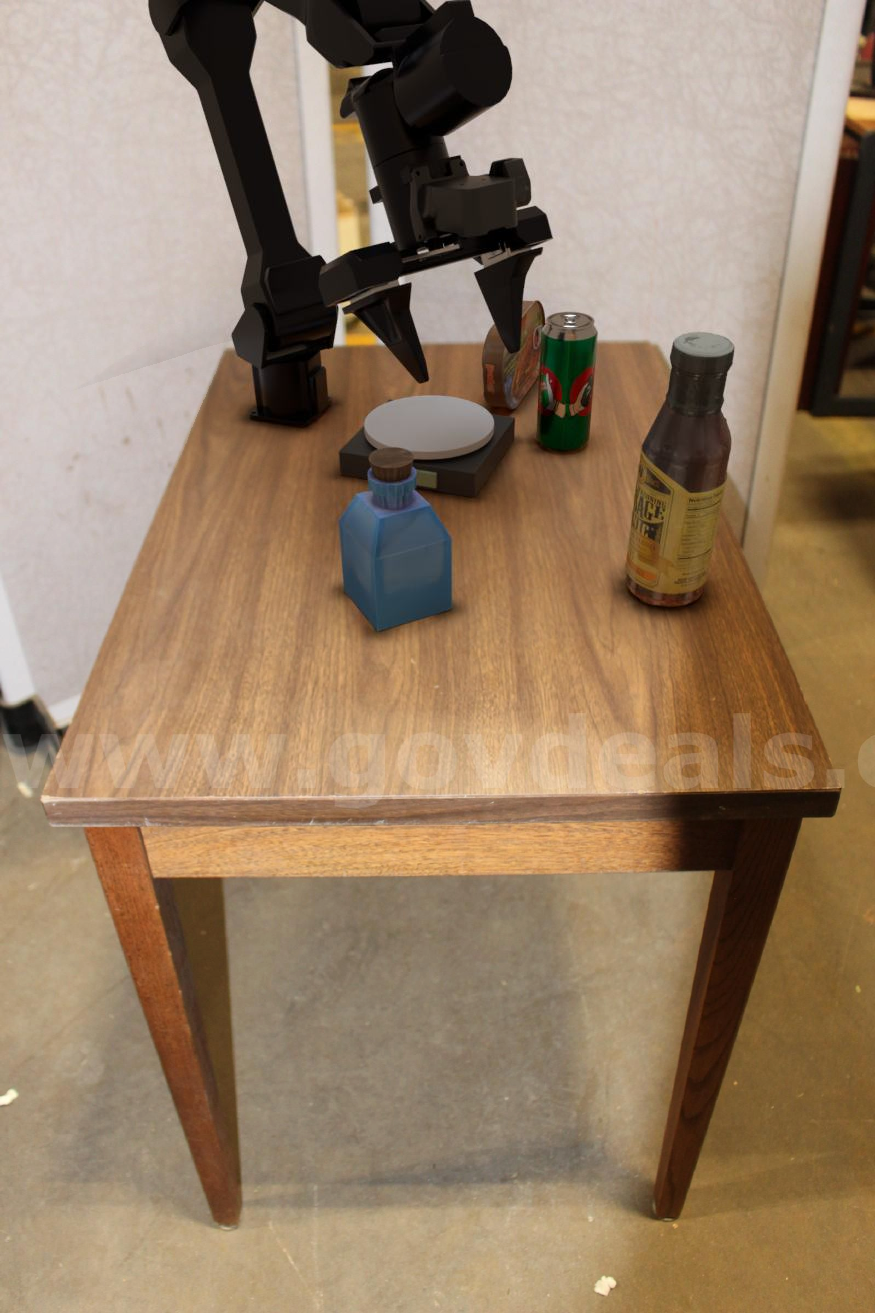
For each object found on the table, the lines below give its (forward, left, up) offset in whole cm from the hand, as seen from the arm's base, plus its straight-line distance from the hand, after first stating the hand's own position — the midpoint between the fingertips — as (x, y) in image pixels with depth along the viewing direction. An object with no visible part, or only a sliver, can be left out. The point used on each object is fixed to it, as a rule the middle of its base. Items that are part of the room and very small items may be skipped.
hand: (470, 367), depth 83 cm
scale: (-7, +10, -14) cm, 18 cm away
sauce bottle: (+18, -5, -14) cm, 23 cm away
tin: (-4, +27, -14) cm, 30 cm away
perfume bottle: (-1, -13, -14) cm, 19 cm away
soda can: (+4, +17, -14) cm, 22 cm away
